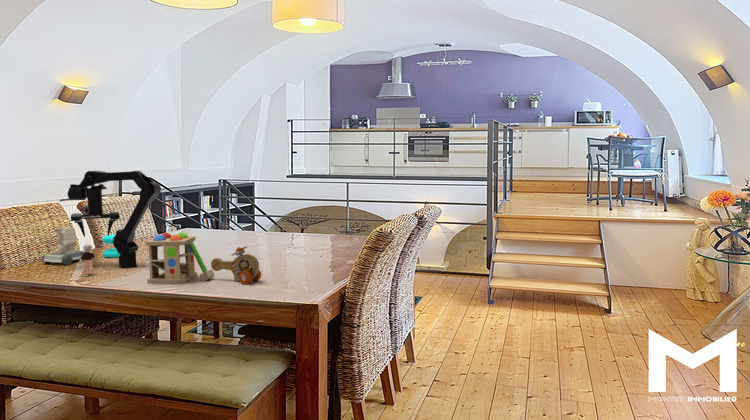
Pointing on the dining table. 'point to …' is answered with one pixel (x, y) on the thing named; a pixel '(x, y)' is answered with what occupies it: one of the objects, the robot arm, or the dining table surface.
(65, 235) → the beige stone block
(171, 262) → the pounding bench toy
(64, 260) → the chassis
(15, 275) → the dining table surface
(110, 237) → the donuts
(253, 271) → the toy helicopter
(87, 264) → the grandmother figurine
